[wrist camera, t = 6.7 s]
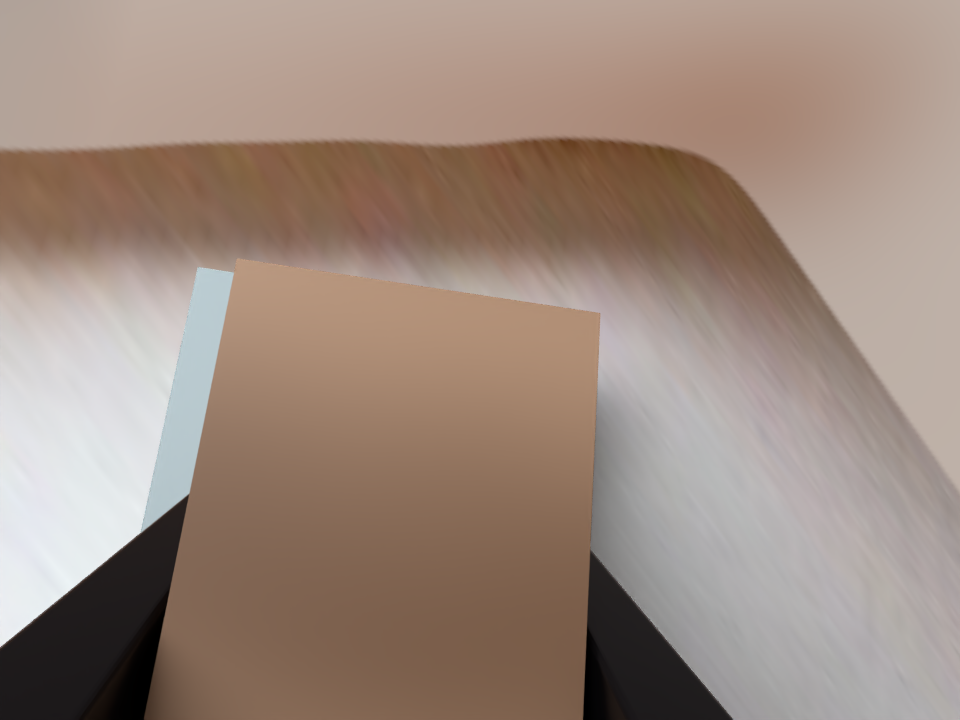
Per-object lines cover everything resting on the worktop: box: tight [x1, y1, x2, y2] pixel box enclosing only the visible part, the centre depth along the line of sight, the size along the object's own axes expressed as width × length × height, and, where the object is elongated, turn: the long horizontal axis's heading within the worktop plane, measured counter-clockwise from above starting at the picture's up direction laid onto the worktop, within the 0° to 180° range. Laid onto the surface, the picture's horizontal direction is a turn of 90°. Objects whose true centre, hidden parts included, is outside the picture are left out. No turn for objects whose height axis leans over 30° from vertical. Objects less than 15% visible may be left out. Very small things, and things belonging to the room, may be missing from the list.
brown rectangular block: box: [144, 259, 600, 720], centre depth 11 cm, size 8×4×9 cm, turn 175°
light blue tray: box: [141, 267, 234, 532], centre depth 18 cm, size 14×10×4 cm
